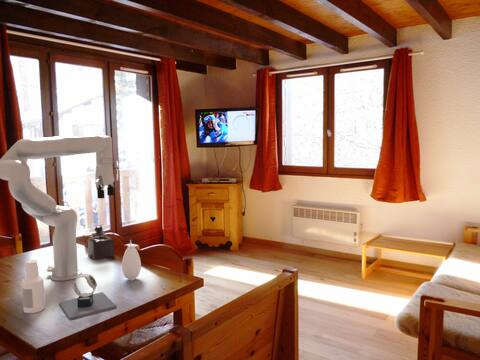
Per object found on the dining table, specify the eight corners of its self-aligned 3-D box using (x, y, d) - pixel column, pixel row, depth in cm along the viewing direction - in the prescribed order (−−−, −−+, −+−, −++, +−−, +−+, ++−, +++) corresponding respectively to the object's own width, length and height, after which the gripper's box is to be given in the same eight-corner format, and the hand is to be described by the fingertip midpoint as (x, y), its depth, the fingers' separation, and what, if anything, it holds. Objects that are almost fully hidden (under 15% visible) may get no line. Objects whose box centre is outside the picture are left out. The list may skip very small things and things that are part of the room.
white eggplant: (136, 283, 166) (134, 242, 164) (119, 282, 168) (117, 241, 166) (144, 277, 174) (143, 237, 172) (128, 276, 175) (126, 236, 174)
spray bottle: (28, 306, 144) (25, 258, 142) (48, 305, 145) (45, 258, 143) (20, 314, 137) (16, 264, 135) (40, 313, 138) (37, 264, 136)
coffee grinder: (86, 256, 206) (84, 222, 204) (107, 252, 213) (105, 219, 211) (97, 263, 194) (95, 227, 192) (118, 258, 201) (117, 224, 199)
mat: (69, 319, 133) (69, 317, 133) (59, 304, 146) (59, 302, 146) (116, 307, 142) (116, 305, 142) (102, 293, 155) (102, 291, 155)
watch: (95, 306, 142) (94, 277, 140) (72, 308, 140) (71, 278, 139) (98, 300, 147) (97, 271, 146) (76, 301, 146) (74, 273, 145)
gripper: (105, 160, 197) (107, 194, 199) (87, 162, 180) (89, 199, 182) (119, 160, 196) (121, 194, 198) (103, 162, 179) (104, 199, 181)
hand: (105, 196), depth 190 cm, fingers open, 9 cm apart
